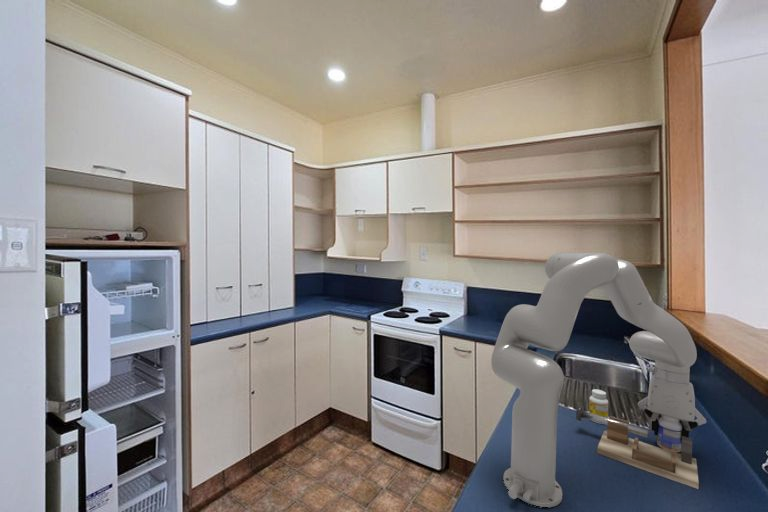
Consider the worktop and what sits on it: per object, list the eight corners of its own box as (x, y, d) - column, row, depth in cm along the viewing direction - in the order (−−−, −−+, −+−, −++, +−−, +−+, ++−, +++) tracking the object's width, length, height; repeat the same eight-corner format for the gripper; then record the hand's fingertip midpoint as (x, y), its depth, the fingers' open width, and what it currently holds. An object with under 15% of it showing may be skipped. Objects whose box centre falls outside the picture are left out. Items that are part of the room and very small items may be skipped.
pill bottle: (656, 439, 100) (658, 407, 100) (680, 446, 97) (682, 413, 96) (656, 447, 96) (658, 414, 96) (682, 455, 92) (683, 420, 92)
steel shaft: (646, 444, 91) (647, 428, 91) (575, 422, 103) (576, 408, 103) (647, 438, 95) (648, 422, 95) (579, 417, 106) (579, 403, 106)
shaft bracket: (698, 489, 79) (699, 460, 79) (597, 453, 92) (597, 428, 92) (695, 464, 88) (697, 438, 88) (604, 435, 102) (605, 412, 102)
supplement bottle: (609, 426, 107) (610, 396, 107) (589, 422, 110) (590, 393, 109) (606, 418, 112) (607, 390, 112) (587, 414, 115) (588, 387, 114)
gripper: (633, 371, 99) (631, 431, 99) (714, 387, 87) (711, 456, 88) (635, 364, 104) (633, 422, 105) (712, 379, 93) (709, 444, 93)
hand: (669, 437), depth 96 cm, fingers closed on pill bottle, 5 cm apart
